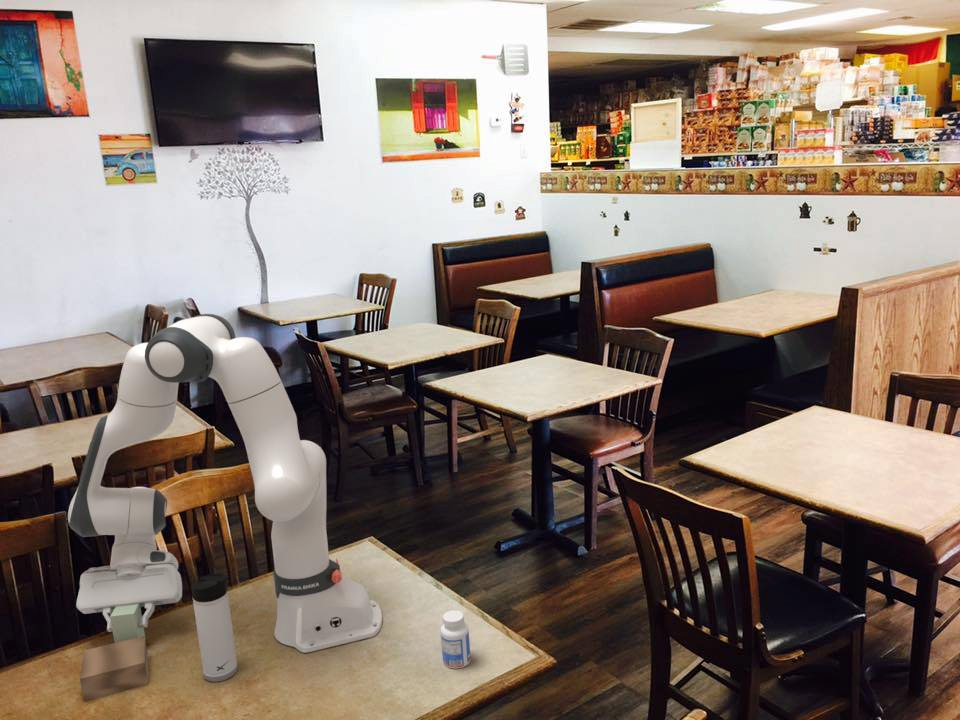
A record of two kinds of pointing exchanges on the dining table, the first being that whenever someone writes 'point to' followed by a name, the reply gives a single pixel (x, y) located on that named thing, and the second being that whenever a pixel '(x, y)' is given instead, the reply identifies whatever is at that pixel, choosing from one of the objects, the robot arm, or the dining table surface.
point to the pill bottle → (455, 640)
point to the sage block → (126, 622)
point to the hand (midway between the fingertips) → (127, 629)
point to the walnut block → (114, 668)
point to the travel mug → (214, 627)
